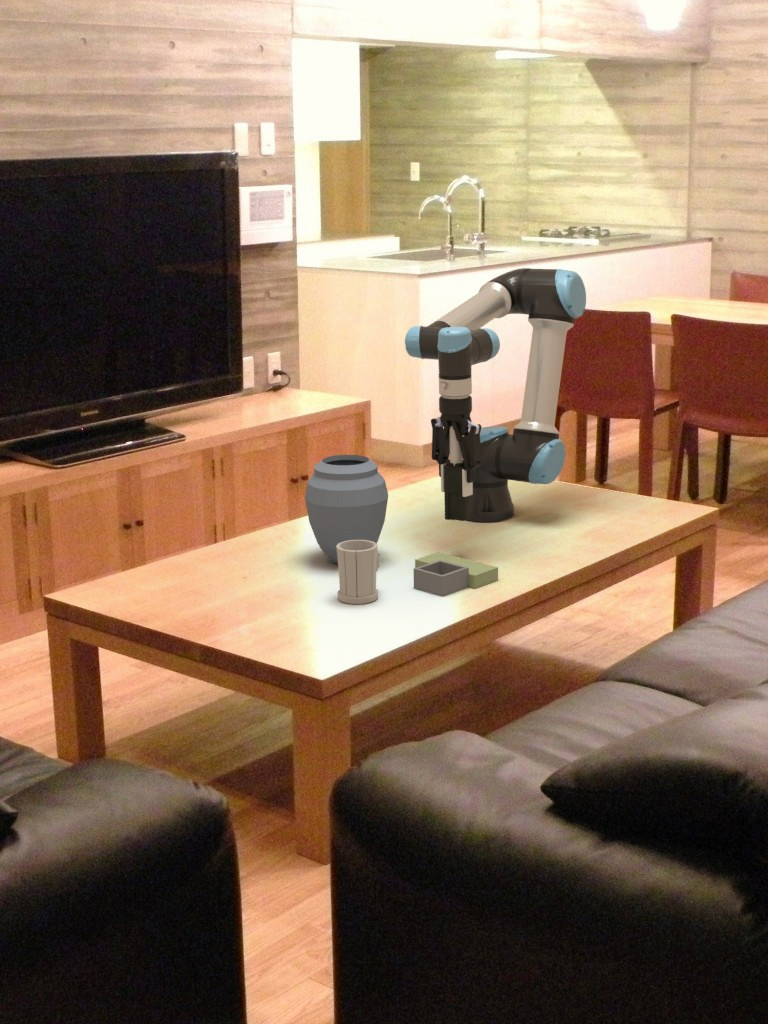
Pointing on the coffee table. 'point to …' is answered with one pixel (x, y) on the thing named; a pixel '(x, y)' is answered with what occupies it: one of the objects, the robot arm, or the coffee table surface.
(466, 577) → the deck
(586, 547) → the coffee table surface
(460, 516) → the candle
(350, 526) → the vase
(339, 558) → the cup
